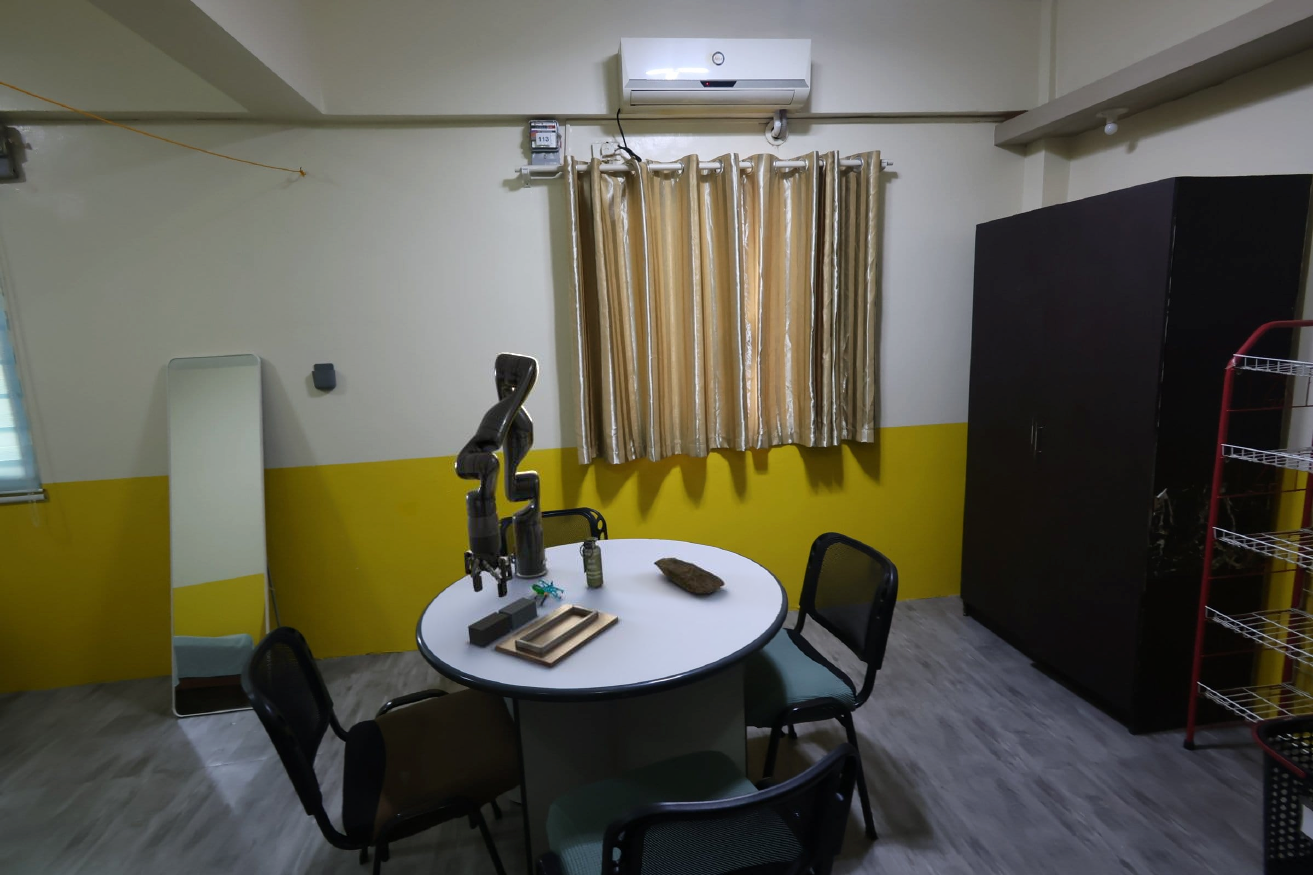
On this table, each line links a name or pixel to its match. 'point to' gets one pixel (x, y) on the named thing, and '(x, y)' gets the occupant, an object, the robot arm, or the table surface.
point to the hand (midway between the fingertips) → (490, 593)
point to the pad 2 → (520, 612)
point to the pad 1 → (489, 629)
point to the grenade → (592, 562)
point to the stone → (689, 575)
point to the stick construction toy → (545, 590)
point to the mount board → (556, 635)
